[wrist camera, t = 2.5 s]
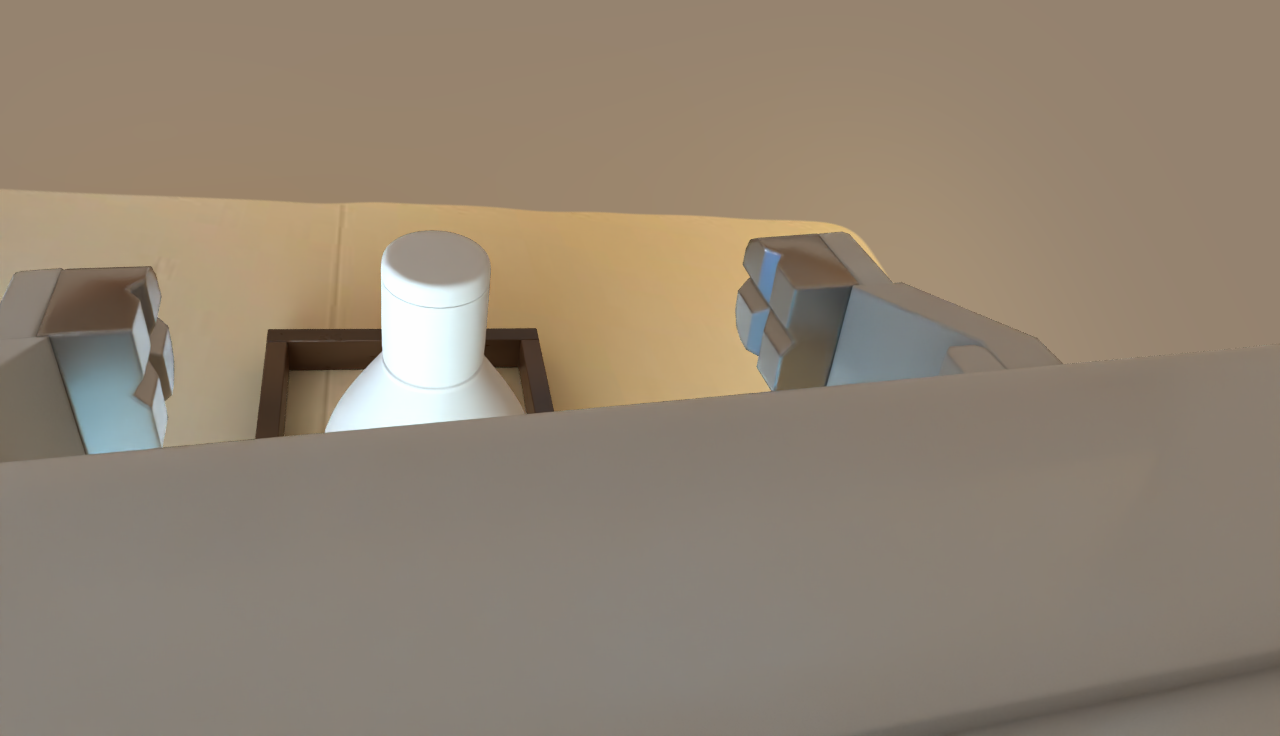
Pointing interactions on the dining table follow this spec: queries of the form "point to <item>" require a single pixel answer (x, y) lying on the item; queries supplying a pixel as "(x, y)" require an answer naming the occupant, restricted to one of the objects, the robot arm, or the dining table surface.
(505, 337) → the stand
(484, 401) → the bath foam
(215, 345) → the dining table surface
